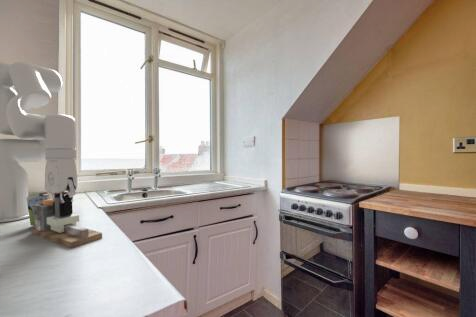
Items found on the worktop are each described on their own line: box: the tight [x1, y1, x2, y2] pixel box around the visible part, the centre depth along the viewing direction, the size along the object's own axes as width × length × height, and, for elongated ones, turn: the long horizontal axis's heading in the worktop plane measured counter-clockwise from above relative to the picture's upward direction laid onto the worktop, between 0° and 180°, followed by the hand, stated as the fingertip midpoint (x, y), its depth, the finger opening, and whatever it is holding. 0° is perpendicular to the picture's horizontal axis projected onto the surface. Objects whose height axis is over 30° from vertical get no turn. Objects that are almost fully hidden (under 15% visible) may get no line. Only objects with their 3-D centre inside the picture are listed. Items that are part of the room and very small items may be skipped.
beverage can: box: [27, 190, 51, 227], centre depth 78 cm, size 6×7×12 cm
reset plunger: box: [43, 198, 53, 206], centre depth 72 cm, size 4×4×2 cm
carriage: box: [47, 196, 80, 233], centre depth 68 cm, size 6×6×10 cm
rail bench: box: [30, 203, 103, 249], centre depth 68 cm, size 25×8×9 cm, turn 62°
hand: (63, 214), depth 68 cm, fingers closed on carriage, 3 cm apart
